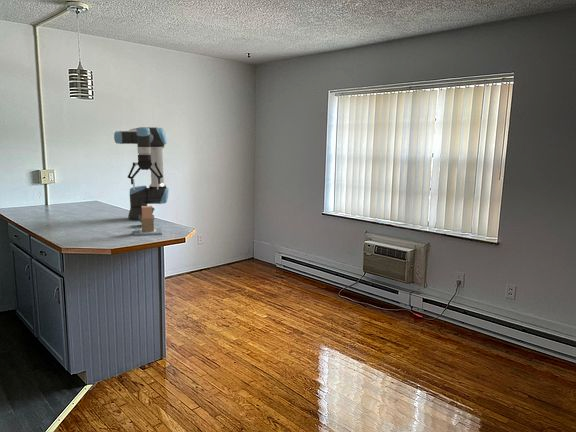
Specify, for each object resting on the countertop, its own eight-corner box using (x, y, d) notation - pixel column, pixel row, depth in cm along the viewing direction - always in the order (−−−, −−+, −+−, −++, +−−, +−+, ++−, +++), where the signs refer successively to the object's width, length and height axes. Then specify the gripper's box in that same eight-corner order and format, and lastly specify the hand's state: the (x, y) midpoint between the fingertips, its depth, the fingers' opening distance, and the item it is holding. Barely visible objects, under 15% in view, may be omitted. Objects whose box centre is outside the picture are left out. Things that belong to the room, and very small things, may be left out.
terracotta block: (142, 217, 273) (141, 206, 271) (152, 216, 274) (151, 205, 273) (142, 219, 267) (141, 207, 266) (152, 218, 269) (152, 207, 268)
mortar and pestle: (144, 227, 287) (143, 209, 285) (136, 225, 293) (135, 207, 291) (159, 225, 296) (158, 207, 294) (151, 223, 302) (150, 206, 300)
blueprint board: (134, 230, 277) (134, 228, 277) (161, 229, 282) (160, 227, 282) (134, 236, 262) (133, 234, 262) (162, 234, 267) (162, 232, 267)
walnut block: (142, 229, 274) (141, 217, 273) (153, 229, 277) (153, 216, 275) (142, 232, 268) (141, 219, 267) (154, 231, 270) (153, 218, 269)
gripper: (121, 154, 257) (123, 190, 260) (166, 154, 264) (167, 189, 268) (122, 154, 264) (124, 189, 267) (165, 153, 271) (167, 188, 275)
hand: (146, 189), depth 268 cm, fingers open, 13 cm apart
